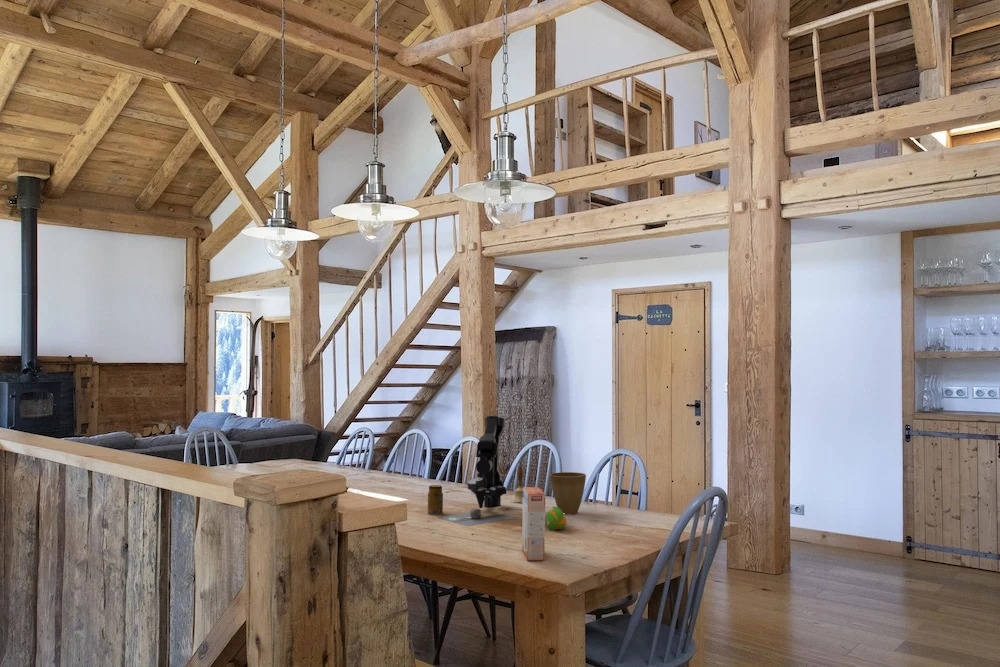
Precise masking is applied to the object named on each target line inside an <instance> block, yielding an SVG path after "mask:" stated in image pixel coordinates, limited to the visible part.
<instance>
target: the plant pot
mask: <svg viewBox="0 0 1000 667" xmlns="http://www.w3.org/2000/svg"><path fill="white" fill-rule="evenodd" d="M549 477H550V482H551V484H550V485H551V489H552V494H553V498H554V500H555V503H556V507H558V508H560V509H561V511H562V512H563V513H565V514H564V515H567V514H571V515H576V514H575V513H577V514H578V512H579V510H580V506H581V504H582V500H583V496H584V491H585V485H586V480H587V474H586V473H583V472H577V471H576V472H571V471H570V472H569V471H567V472H565V471H564V472H563V471H561V472H552V473H550V474H549Z"/></svg>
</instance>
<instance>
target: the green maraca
mask: <svg viewBox="0 0 1000 667" xmlns="http://www.w3.org/2000/svg"><path fill="white" fill-rule="evenodd" d="M551 508H552V509H550V510H548V511H547V512H546V513H545V525H546V526H547V528H548V529H550V530H551V531H555V530H559V531H561V530H563V529H564V528H565V527H566V526H567V524H566V523H567V519H566V516H565V514H563V512H562V511H561V509H560V508H558V507H557V506H552V507H551Z"/></svg>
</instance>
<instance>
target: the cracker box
mask: <svg viewBox="0 0 1000 667" xmlns="http://www.w3.org/2000/svg"><path fill="white" fill-rule="evenodd" d="M522 488H523V503H522V522H521V523H522V524H521V525H522V529H521V530H522V531H521V532H522V533H521V535H522V536H521V537H522V539H521V542H522V543H521V551H522V552H523V554H524V557H525V559H526V561H529V562H530V561H531V562H532V561H534V562H535V561H536V562H537V561H539V562H540V561H542V562H543V561H545V548H546V546H545V545H546V543H545V542H546V540H545V537H546V536H545V534H546V532H545V531H546V530H545V528H546V522H545V520H546V493H545V492H544V491H543V490H542V489H541V487H537V486H522Z"/></svg>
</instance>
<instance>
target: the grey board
mask: <svg viewBox="0 0 1000 667" xmlns="http://www.w3.org/2000/svg"><path fill="white" fill-rule="evenodd" d="M467 517H470V512H464V513H459V514H451V515H445V516H436V518H437V519H440V520H443V521H446V522H450V523H454V524H459V525H461V526H465V527H469V526H476V525H482V524H490V523H494V522H500V521H507V520H512V519H513V520H514V519H519V518H520V517H519V516H516V515H511V514H507V513H505V514H500V515H493V516H486V517H481V518H480V519H471V518H470V519H463V520H456V521H454V519H460V518H467Z"/></svg>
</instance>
